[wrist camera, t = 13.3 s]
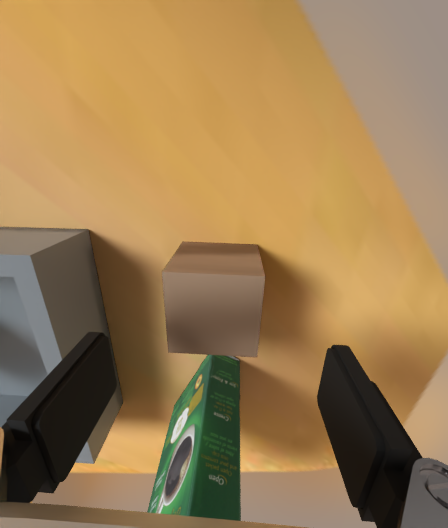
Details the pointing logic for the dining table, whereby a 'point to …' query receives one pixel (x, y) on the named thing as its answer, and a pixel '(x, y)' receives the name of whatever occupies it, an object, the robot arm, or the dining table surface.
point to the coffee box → (203, 446)
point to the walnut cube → (214, 299)
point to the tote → (48, 315)
